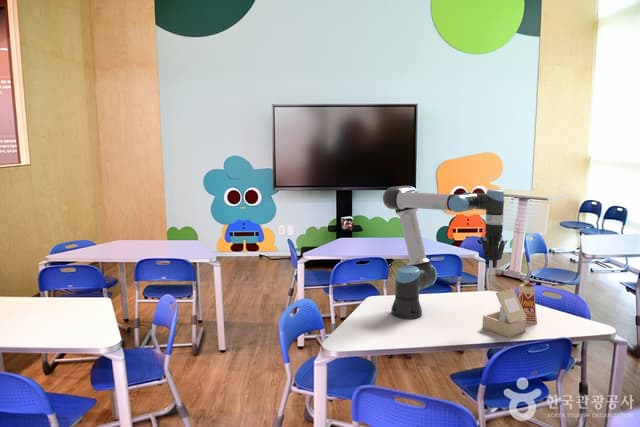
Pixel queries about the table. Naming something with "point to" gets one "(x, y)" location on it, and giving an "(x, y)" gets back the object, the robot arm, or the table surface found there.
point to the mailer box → (503, 324)
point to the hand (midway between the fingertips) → (491, 273)
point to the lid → (511, 305)
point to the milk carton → (528, 301)
